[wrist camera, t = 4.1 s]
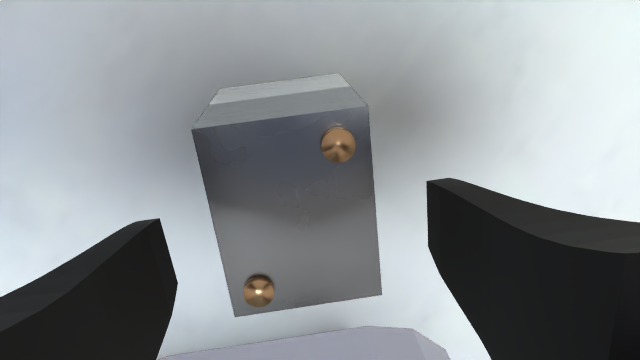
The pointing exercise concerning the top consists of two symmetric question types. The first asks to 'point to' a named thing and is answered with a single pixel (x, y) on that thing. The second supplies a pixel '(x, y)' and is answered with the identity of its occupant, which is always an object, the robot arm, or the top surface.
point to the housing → (291, 192)
